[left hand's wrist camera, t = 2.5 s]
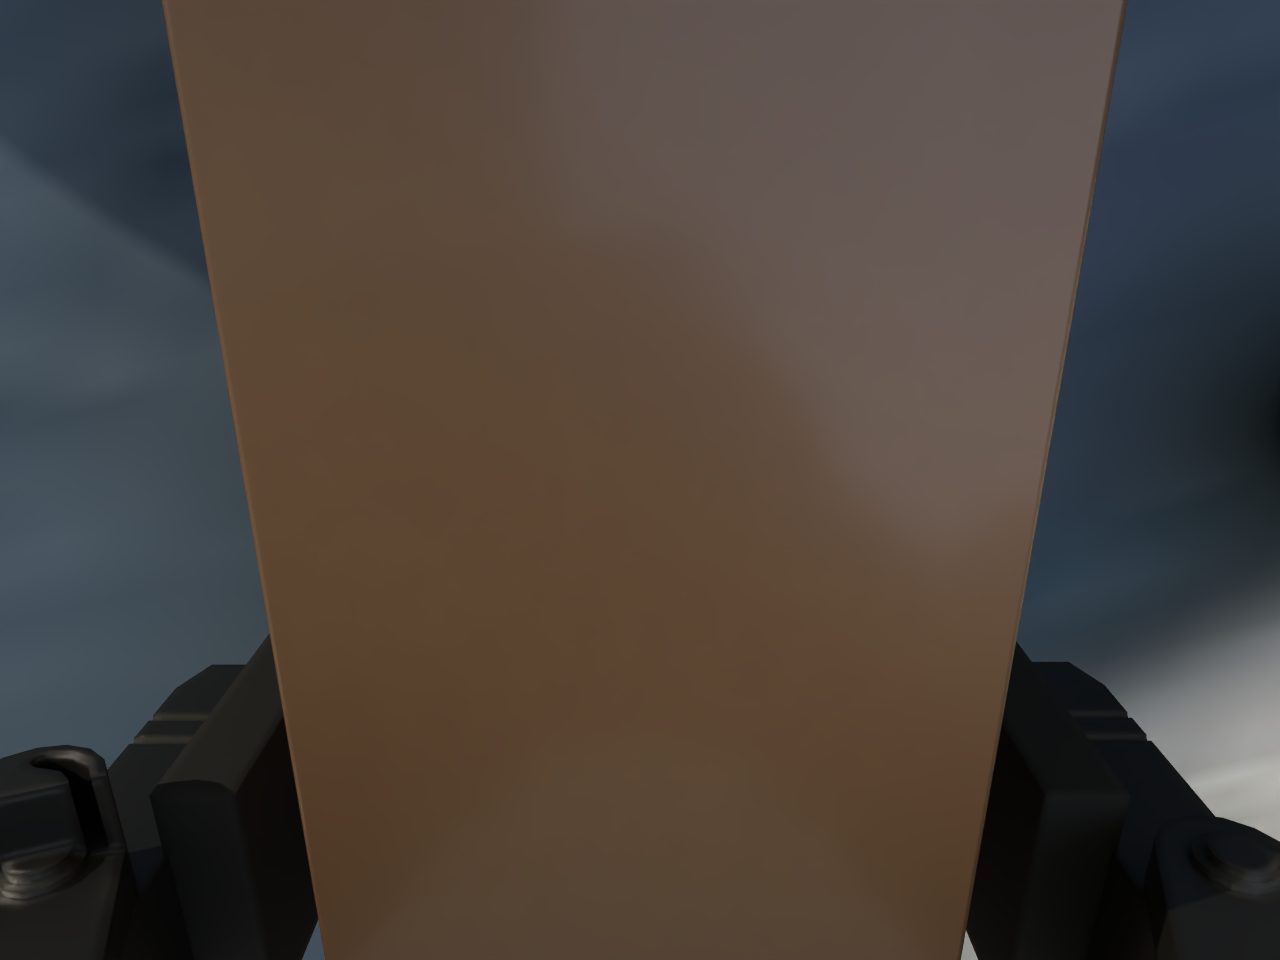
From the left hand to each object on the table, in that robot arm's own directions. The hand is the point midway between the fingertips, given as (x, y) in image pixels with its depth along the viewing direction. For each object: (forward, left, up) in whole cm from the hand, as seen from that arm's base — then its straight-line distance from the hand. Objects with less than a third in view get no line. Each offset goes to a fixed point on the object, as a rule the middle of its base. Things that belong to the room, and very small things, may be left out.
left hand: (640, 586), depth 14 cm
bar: (+2, +9, -1) cm, 9 cm away
